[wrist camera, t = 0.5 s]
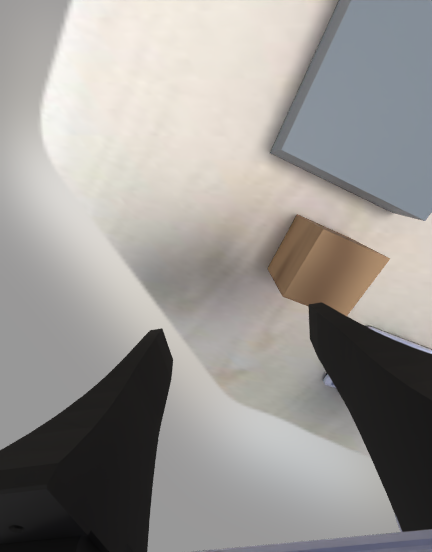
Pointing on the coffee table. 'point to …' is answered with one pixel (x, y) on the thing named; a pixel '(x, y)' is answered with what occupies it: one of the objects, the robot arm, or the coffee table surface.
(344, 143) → the slate block
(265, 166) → the coffee table surface
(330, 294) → the walnut cube
